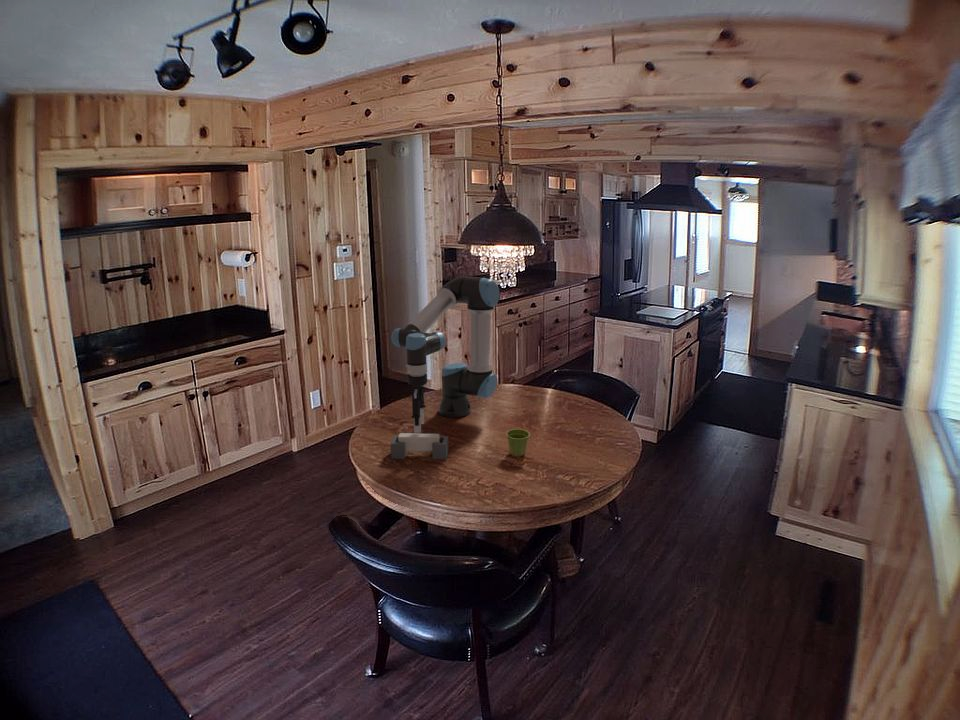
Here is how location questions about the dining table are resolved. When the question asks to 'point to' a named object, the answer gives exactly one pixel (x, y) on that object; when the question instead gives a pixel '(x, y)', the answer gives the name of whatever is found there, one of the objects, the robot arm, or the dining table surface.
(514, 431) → the plant pot
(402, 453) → the endcap rack
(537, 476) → the dining table surface
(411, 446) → the light grey long block
